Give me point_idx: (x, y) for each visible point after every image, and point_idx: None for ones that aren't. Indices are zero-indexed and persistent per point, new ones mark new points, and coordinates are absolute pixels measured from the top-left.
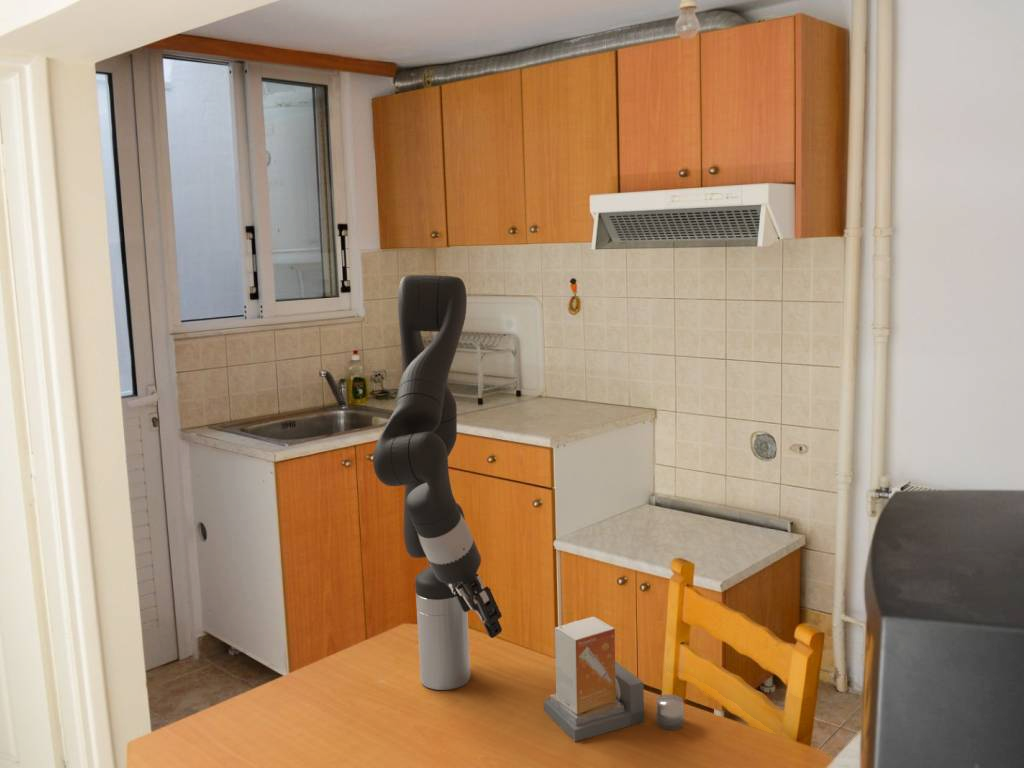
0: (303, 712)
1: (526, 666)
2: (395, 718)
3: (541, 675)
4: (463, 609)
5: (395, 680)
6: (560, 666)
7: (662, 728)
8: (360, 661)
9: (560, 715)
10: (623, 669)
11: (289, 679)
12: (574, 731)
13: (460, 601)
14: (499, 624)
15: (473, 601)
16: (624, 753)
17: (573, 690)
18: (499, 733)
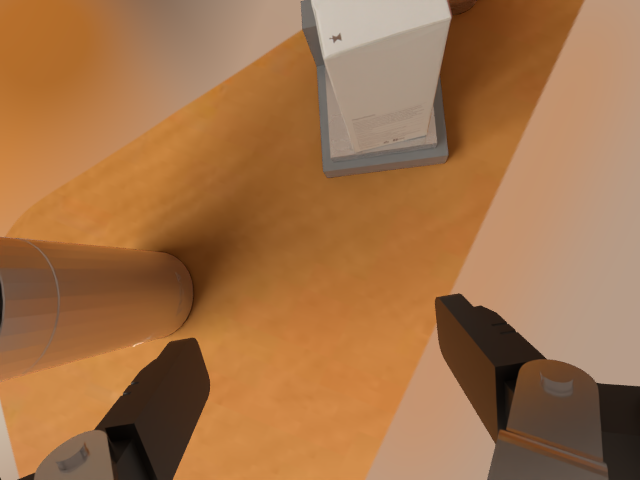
0: None
1: (178, 154)
2: (238, 421)
3: (215, 141)
4: (204, 403)
5: (123, 374)
6: (367, 112)
7: (466, 10)
8: (42, 406)
9: (386, 161)
10: None
11: None
12: (446, 156)
13: (182, 449)
14: (477, 312)
15: (184, 353)
16: (517, 97)
17: (419, 116)
18: (362, 273)
